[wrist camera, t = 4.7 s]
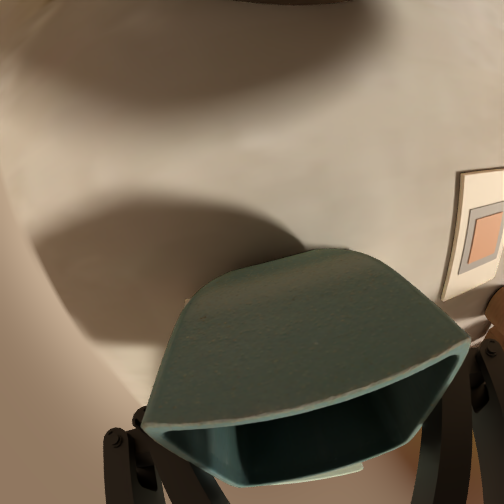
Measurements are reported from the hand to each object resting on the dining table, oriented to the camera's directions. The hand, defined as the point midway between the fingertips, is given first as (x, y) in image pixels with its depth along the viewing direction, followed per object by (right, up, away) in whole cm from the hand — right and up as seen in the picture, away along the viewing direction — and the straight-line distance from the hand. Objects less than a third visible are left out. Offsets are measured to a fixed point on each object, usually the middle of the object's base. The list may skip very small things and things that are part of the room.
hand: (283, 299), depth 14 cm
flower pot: (0, 0, +1) cm, 1 cm away
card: (+15, +4, 0) cm, 16 cm away
